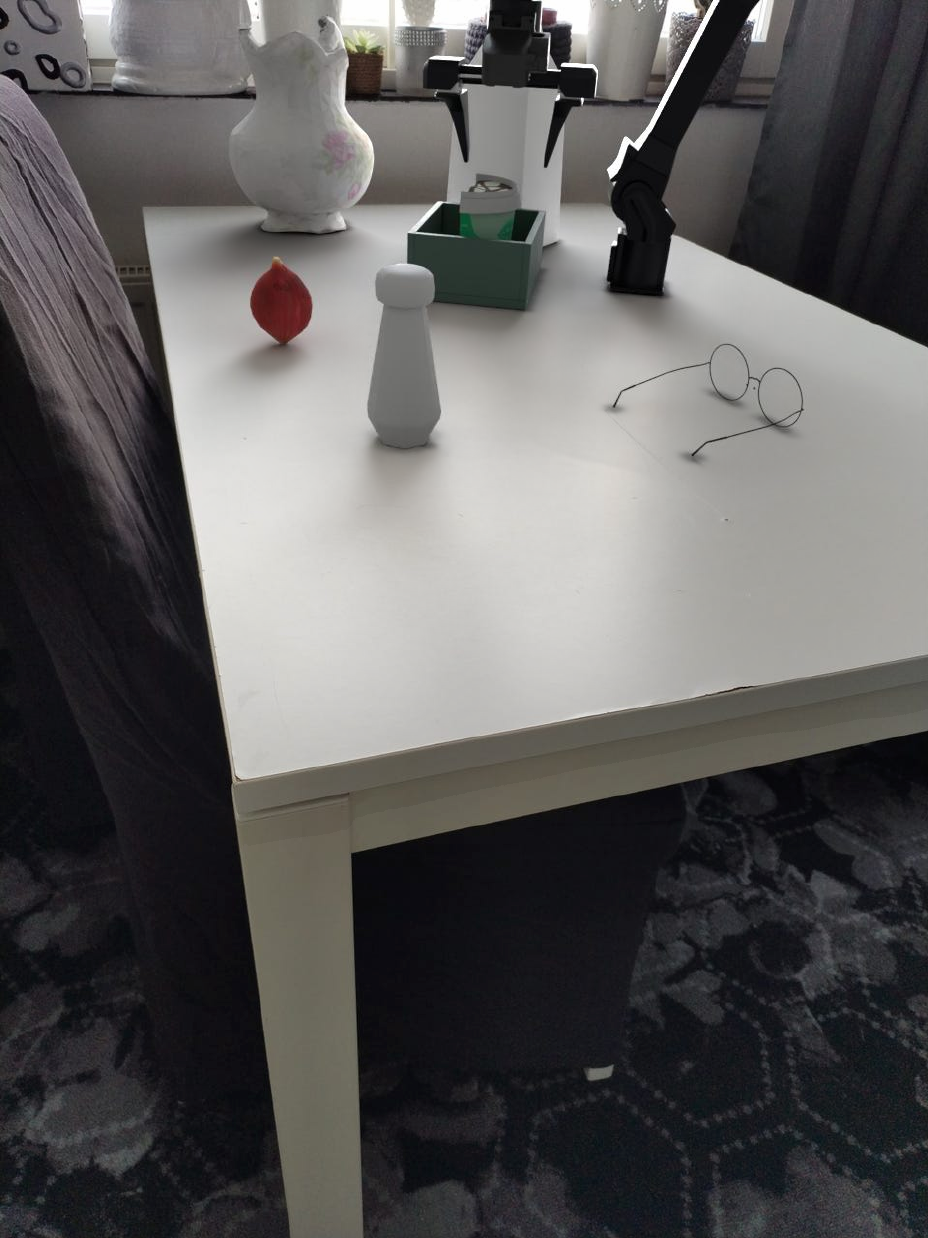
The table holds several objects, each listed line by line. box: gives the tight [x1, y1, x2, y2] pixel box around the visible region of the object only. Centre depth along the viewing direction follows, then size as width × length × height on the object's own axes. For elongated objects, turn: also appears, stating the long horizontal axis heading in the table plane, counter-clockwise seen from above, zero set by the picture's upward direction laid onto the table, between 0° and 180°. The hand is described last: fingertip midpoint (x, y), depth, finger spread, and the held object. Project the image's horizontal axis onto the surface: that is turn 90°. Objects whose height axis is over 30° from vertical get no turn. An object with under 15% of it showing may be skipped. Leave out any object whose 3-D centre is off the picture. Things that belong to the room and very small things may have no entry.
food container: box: [460, 174, 522, 241], centre depth 103 cm, size 12×6×10 cm, turn 171°
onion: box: [249, 256, 314, 345], centre depth 84 cm, size 6×6×8 cm
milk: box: [445, 25, 566, 247], centre depth 117 cm, size 12×12×26 cm
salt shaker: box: [366, 263, 442, 450], centre depth 67 cm, size 6×6×13 cm
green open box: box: [406, 200, 546, 311], centre depth 105 cm, size 14×18×7 cm
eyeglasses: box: [612, 343, 805, 457], centre depth 74 cm, size 11×13×5 cm
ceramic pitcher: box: [228, 14, 375, 235], centre depth 120 cm, size 22×20×25 cm
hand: (505, 164), depth 102 cm, fingers open, 9 cm apart
